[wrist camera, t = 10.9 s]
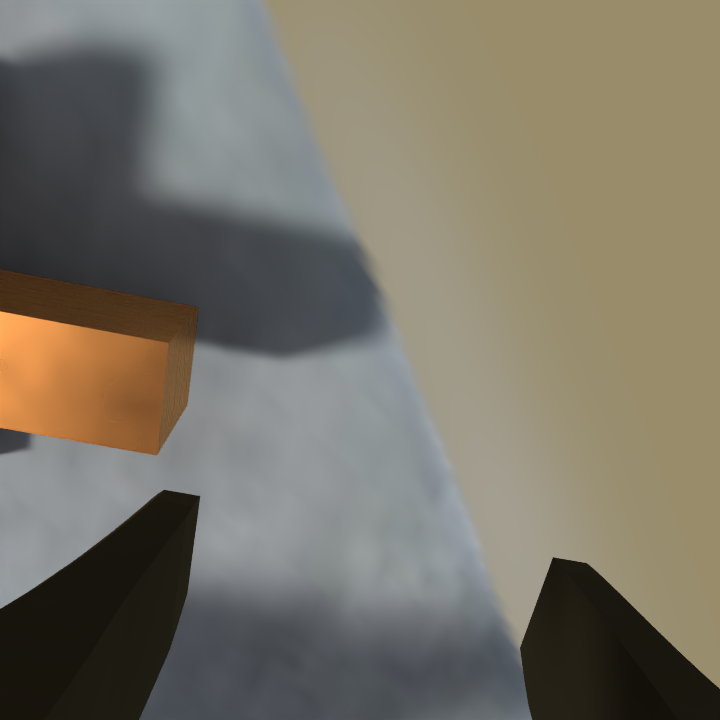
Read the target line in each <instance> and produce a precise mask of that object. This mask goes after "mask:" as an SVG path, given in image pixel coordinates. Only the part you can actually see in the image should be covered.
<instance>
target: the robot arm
mask: <svg viewBox="0 0 720 720" xmlns="http://www.w3.org/2000/svg"><path fill="white" fill-rule="evenodd" d="M199 501H200V496H196V495H191V494H185V493H179V492H173V491H168V490H163V491H162V492H160V493H159V494H157V495H156V496H155V497H153V498H152V499H151V500H150V501H149V502H148V503H146V504H145V505H144V506H143V507H142V508H141V509H139V510H138V511H137V512H136V513H135V514H133V515H132V516H131V517H130V518H129V519H127V520H126V521H125V522H124V523H122V524H121V525H120V526H119V527H118V528H116V529H115V530H114V531H113V532H111V533H110V534H109V535H107V536H106V537H105V538H104V539H102V540H101V541H100V542H98V543H97V544H96V545H94V546H93V547H92V548H90V549H89V550H88V551H87V552H85V553H84V554H83V555H81V556H80V557H78V558H77V559H76V560H74V561H73V562H72V563H70V564H69V565H67V566H66V567H64V568H63V569H61V570H60V571H58V572H57V573H55V574H54V575H53V576H51V577H50V578H48V579H47V580H45V581H44V582H42V583H41V584H39V585H38V586H36V587H35V588H33V589H32V590H30V591H29V592H27V593H26V594H24V595H22V596H21V597H19V598H18V599H16V600H14V601H13V602H11V603H9V604H8V605H6V606H4V607H3V608H1V609H0V720H139V718H140V716H141V714H142V712H143V709H144V707H145V705H146V702H147V700H148V698H149V696H150V693H151V691H152V689H153V687H154V684H155V682H156V680H157V677H158V675H159V673H160V671H161V668H162V666H163V664H164V661H165V659H166V657H167V654H168V652H169V650H170V647H171V644H172V641H173V638H174V634H175V631H176V628H177V625H178V622H179V619H180V615H181V612H182V609H183V606H184V602H185V599H186V596H187V591H188V584H189V576H190V569H191V561H192V554H193V546H194V538H195V531H196V523H197V516H198V508H199ZM520 651H521V658H522V665H523V673H524V680H525V686H526V692H527V698H528V704H529V709H530V712H531V716H532V720H720V689H719V688H718V687H717V686H716V685H715V684H714V683H712V682H711V681H710V680H709V679H708V678H707V677H706V676H705V675H704V674H702V673H701V672H700V671H699V670H698V669H697V668H696V667H695V666H694V665H693V664H692V663H691V662H690V661H688V660H687V659H686V658H685V657H684V656H683V655H682V654H681V653H680V652H679V651H678V650H677V649H676V648H675V647H674V646H672V644H671V643H669V642H668V641H667V640H666V639H665V638H664V637H663V636H662V635H661V634H660V633H659V632H658V631H657V630H656V629H655V628H654V627H653V626H652V625H651V624H650V623H649V622H648V621H647V620H646V619H645V618H644V617H643V616H642V615H641V614H640V613H639V612H638V611H637V610H636V609H635V608H634V607H633V606H632V605H631V604H630V603H629V602H628V601H627V600H626V599H625V598H623V596H622V595H621V594H620V593H619V592H617V591H616V590H615V589H614V588H613V587H612V586H611V585H610V584H609V583H608V582H607V581H606V580H605V579H604V578H603V577H602V576H601V575H600V574H599V573H598V572H596V571H595V570H594V569H593V568H592V567H591V566H589V565H588V564H587V563H582V562H577V561H571V560H565V559H559V558H554V557H553V559H552V562H551V565H550V567H549V570H548V573H547V576H546V578H545V581H544V584H543V586H542V589H541V593H540V595H539V597H538V600H537V603H536V606H535V609H534V612H533V614H532V617H531V619H530V622H529V625H528V628H527V630H526V633H525V636H524V639H523V641H522V644H521V647H520Z"/></svg>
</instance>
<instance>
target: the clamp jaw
mask: <svg viewBox="0 0 720 720" xmlns="http://www.w3.org/2000/svg"><path fill="white" fill-rule="evenodd" d="M198 310H199V307H195V306H190V305H184V304H179V303H174V302H169V301H164V300H158V299H153V298H148V297H143V296H137V295H132V294H127V293H122V292H116V291H111V290H106V289H101V288H96V287H90V286H85V285H80V284H75V283H69V282H64V281H59V280H54V279H48V278H43V277H38V276H33V275H28V274H22V273H17V272H12V271H7V270H1V269H0V428H5V429H10V430H16V431H22V432H27V433H33V434H39V435H44V436H50V437H56V438H61V439H67V440H73V441H78V442H84V443H90V444H95V445H101V446H107V447H112V448H118V449H124V450H129V451H135V452H141V453H146V454H152V455H157V454H158V453H159V451H160V449H161V448H162V446H163V444H164V443H165V441H166V439H167V438H168V436H169V434H170V433H171V431H172V430H173V428H174V426H175V425H176V423H177V421H178V420H179V418H180V416H181V415H182V413H183V411H184V410H185V408H186V406H187V403H188V395H189V387H190V378H191V370H192V361H193V353H194V344H195V336H196V327H197V319H198Z"/></svg>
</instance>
